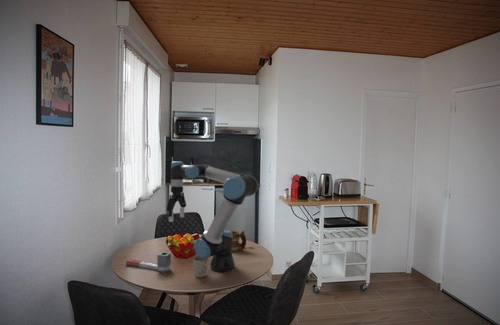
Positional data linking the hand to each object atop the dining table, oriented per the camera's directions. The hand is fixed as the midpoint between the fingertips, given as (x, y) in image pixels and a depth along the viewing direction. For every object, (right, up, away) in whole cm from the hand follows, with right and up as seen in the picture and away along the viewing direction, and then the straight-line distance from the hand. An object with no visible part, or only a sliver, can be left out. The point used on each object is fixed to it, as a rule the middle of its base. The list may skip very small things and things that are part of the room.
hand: (176, 219), depth 201 cm
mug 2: (+36, -28, +30) cm, 55 cm away
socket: (-5, -26, -11) cm, 28 cm away
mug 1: (+19, -30, -18) cm, 40 cm away
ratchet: (-16, -28, -7) cm, 33 cm away
